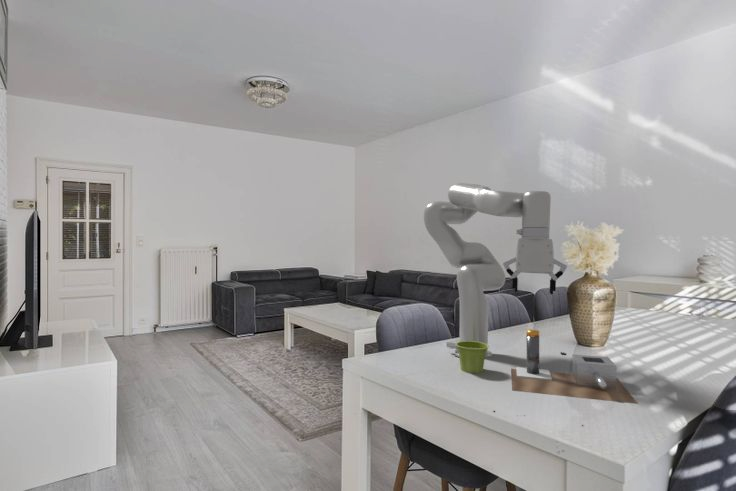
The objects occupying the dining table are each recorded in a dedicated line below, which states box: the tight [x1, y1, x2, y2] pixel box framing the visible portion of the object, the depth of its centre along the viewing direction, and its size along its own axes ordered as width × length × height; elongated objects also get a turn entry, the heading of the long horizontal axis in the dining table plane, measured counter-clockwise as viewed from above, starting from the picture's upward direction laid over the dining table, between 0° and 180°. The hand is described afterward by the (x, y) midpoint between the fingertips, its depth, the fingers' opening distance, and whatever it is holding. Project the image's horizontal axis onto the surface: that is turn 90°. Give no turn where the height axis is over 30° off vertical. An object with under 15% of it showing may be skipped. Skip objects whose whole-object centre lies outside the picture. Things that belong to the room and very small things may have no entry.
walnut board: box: [510, 368, 639, 405], centre depth 113 cm, size 28×20×1 cm
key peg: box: [526, 329, 540, 374], centre depth 121 cm, size 3×3×12 cm
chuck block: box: [571, 354, 617, 389], centre depth 111 cm, size 9×17×6 cm, turn 162°
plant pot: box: [455, 341, 489, 374], centre depth 125 cm, size 9×9×9 cm
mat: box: [515, 366, 552, 381], centre depth 121 cm, size 9×9×1 cm
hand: (533, 292), depth 123 cm, fingers open, 9 cm apart
